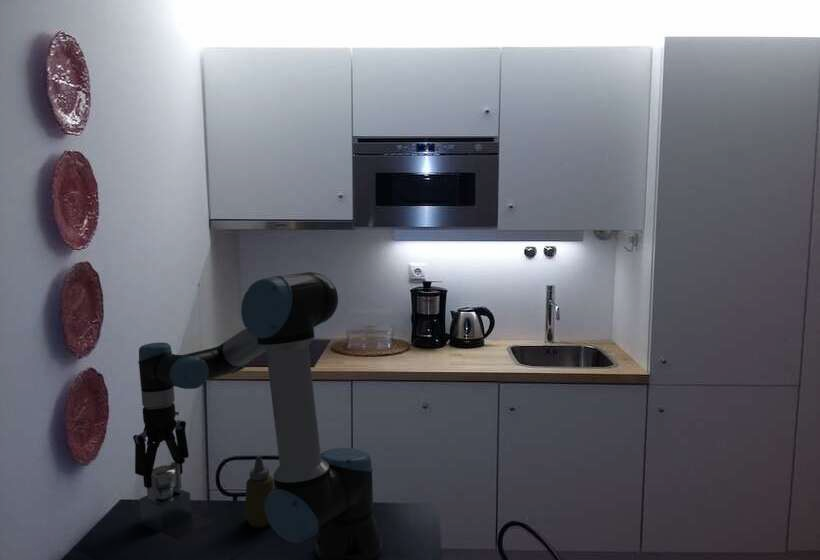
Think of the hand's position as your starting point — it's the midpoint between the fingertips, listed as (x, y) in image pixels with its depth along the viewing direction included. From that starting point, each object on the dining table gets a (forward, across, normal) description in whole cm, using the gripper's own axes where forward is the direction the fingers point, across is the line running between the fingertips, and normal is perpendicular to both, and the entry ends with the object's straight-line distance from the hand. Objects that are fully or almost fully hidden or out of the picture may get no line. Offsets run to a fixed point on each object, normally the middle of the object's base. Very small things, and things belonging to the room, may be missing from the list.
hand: (164, 492), depth 152 cm
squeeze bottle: (+8, -11, +23) cm, 27 cm away
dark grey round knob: (+4, 0, 0) cm, 4 cm away
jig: (+8, 0, +4) cm, 9 cm away
